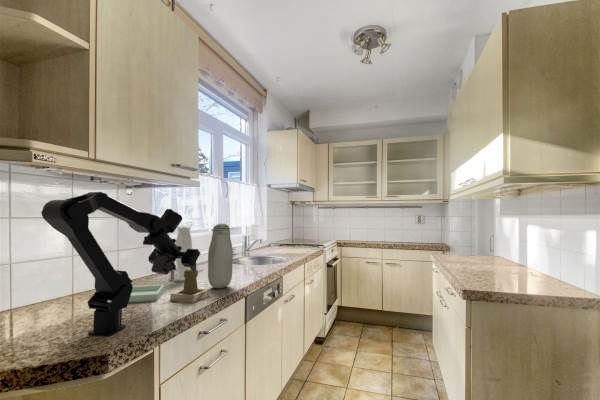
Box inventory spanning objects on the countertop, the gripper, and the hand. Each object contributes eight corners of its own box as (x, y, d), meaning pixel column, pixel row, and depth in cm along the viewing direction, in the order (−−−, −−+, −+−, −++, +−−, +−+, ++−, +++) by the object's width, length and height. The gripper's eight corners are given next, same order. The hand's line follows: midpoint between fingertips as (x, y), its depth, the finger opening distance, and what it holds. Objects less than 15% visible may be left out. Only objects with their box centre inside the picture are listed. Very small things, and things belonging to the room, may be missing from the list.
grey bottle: (224, 291, 123) (226, 224, 124) (203, 289, 126) (204, 223, 127) (236, 285, 133) (237, 223, 134) (215, 284, 135) (216, 223, 137)
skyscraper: (185, 277, 150) (186, 221, 151) (195, 279, 145) (196, 222, 146) (169, 280, 143) (171, 222, 144) (179, 282, 138) (180, 222, 139)
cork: (193, 300, 109) (193, 271, 110) (178, 299, 111) (179, 270, 111) (201, 296, 115) (202, 268, 116) (187, 295, 116) (188, 267, 117)
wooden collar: (192, 303, 107) (192, 296, 107) (170, 300, 110) (170, 293, 110) (209, 295, 116) (209, 289, 116) (188, 293, 119) (188, 287, 119)
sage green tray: (157, 300, 109) (157, 294, 109) (111, 303, 105) (111, 296, 105) (164, 290, 124) (164, 284, 124) (124, 292, 120) (124, 286, 120)
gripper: (127, 261, 98) (153, 286, 108) (173, 264, 92) (195, 291, 102) (147, 235, 106) (169, 261, 116) (190, 237, 100) (210, 264, 110)
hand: (185, 269), depth 110 cm, fingers open, 9 cm apart
